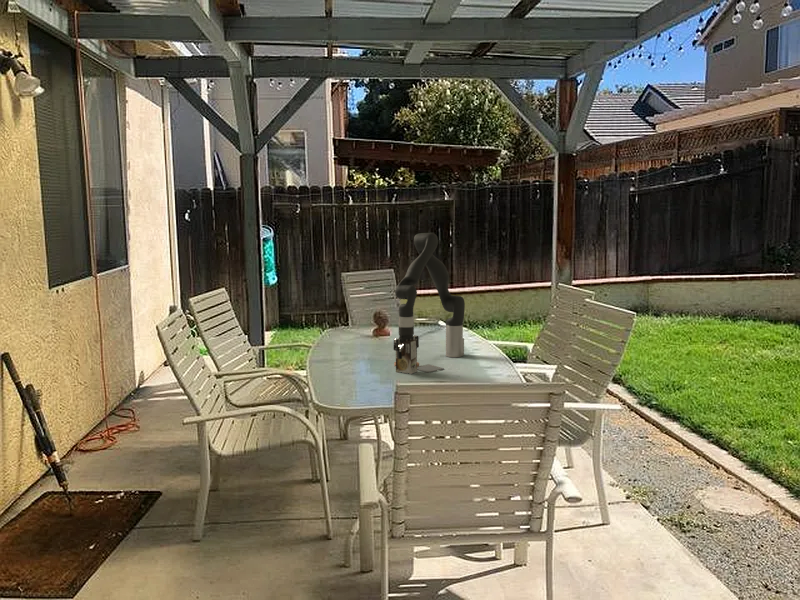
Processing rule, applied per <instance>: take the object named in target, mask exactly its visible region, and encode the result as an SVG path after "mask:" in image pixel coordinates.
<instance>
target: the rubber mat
mask: <svg viewBox="0 0 800 600" xmlns="http://www.w3.org/2000/svg"><path fill="white" fill-rule="evenodd" d="M443 369H444V370H445V368H443V367H441V366H440V367H439V366H436V365H433V364H429V363H428V364H423V365H419V366H417V371H419V370H420V372H422V371H423V372H422V373H426V374H428V373H429V372H430V373H434V372H433V371H435V372H438V371H437V370H440V371H444V370H443ZM430 373H429V374H430Z"/></svg>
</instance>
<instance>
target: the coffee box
mask: <svg viewBox="0 0 800 600" xmlns="http://www.w3.org/2000/svg"><path fill="white" fill-rule="evenodd" d="M403 343H404V348H403V349H402V351H401V352H402V359H398V358H397V351H395V362H396V367H395V372H396V373H400V372H402V374H408V373H409V375H410V374H411V375H412V374H415V373H417V372H418V370H417V362H418V348H417V340H414V339H413V340H408V341H403ZM403 343H401V341H399V345H403ZM399 349H400V347H399Z"/></svg>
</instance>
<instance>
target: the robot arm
mask: <svg viewBox="0 0 800 600" xmlns="http://www.w3.org/2000/svg"><path fill="white" fill-rule="evenodd" d="M438 243H439V239H438V235H436V234H435V233H434V232H421V233H416V234H415V235H414V237H413V244H414V246H415V250H416V251H417V253H418V254H419V255H418V256H417V257H416V258H415V259H414V260H413V261H412V262H411V263H410V265H408V268H407V271H406V273H405V276H404V277H402V279H401V280H400V282H399V283H398V284H397V286H396V288H395V293H394V295H395V296H396V298H397V299H399V300H407V301H406V303H402V304H400V305H399V306H398V336H399V337H398V338H396V337H395V338H393V351H394V352H396V351H397V358H398V359H402V352H401V351H402V349H403V348H404V343H403V341H408V340H413V339H414V340H417V349H418V348H419V345H420V344H419V342H420V338H419V337H420V336H419V335H414V334H415V320H414V319H415V318H414V306H415V303H416V299H417V296H418V291H417V288H416V286H415V285H417V284H418V282H419V281H420V278H421V275H422V273H423V271H424V269H425V268H426V269H427V271H428V274H429V276H430V279H431V280H432V282H433V283H434V286H435V289H436V291H437V294H438V296H439V298H440V299H439V300H440V301H441V305H442V308H443V310H444V311H446V312H448V313H452V317H450V318H447V319H446V320H445V356H446V357H449V358H461V357H463V356H464V355H465V338H464V327H463V326H464V320H465V311H466V310H465V308H466V303H465V299H464V297H463V296H461V295H452V294H451V292H450V291H449V287H448V286H449V282H450V272H448V269H447V267H446V265H445V264H444V263H443V262H442V261H441V260H440V259H439V258H437V257H436V256H435V255H434V252H435V251H436V249H437V247H438ZM399 341H401V343H403V345H399ZM399 347H400V349H399Z"/></svg>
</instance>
